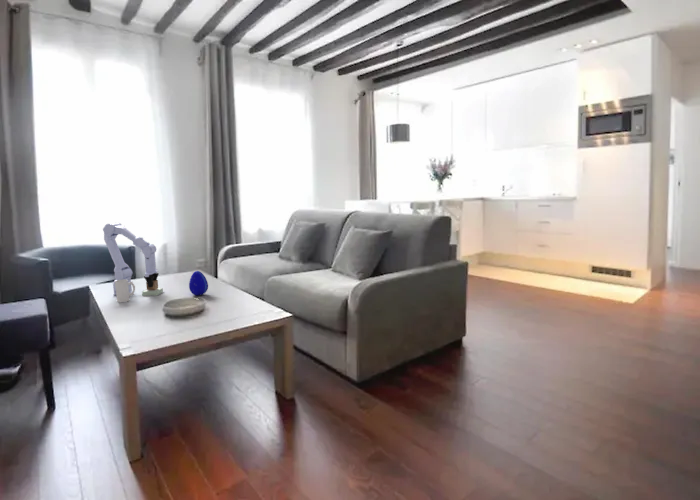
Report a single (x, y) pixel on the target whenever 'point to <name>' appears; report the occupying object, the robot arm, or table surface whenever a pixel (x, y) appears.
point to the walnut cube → (155, 285)
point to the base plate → (152, 292)
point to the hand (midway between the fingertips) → (152, 286)
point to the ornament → (198, 283)
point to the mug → (123, 290)
